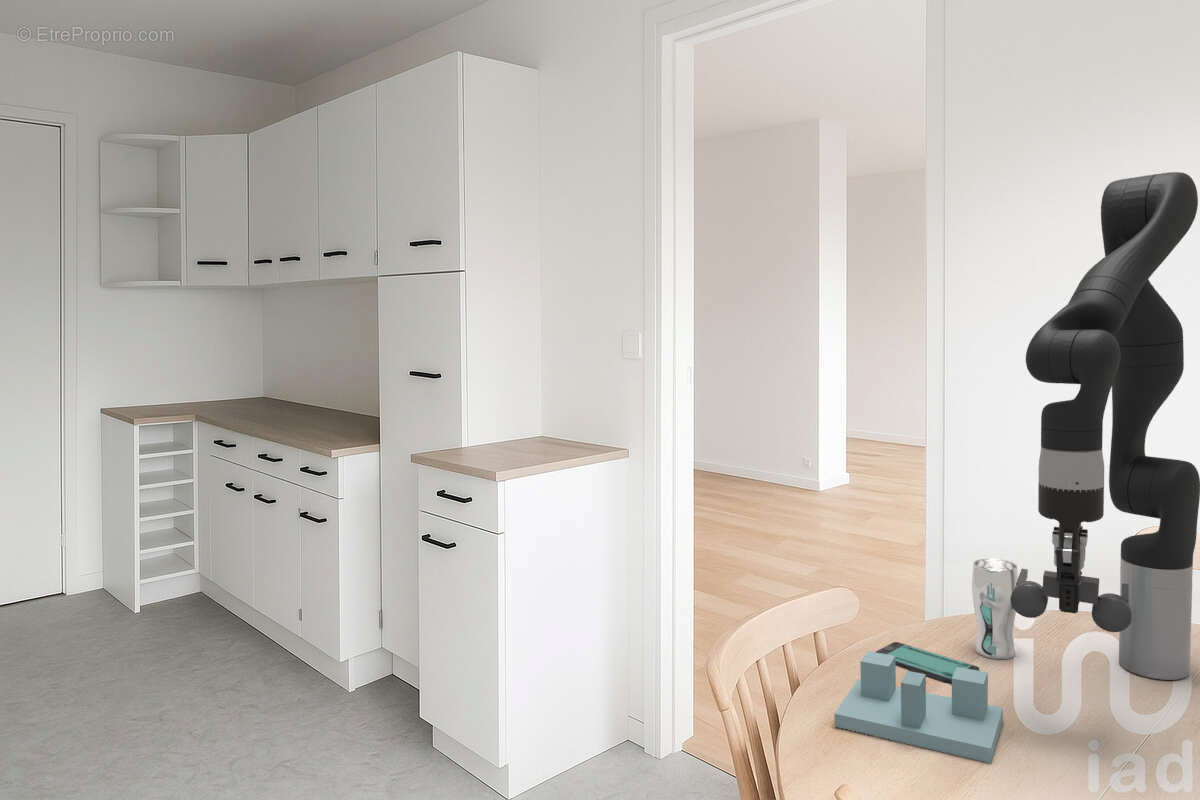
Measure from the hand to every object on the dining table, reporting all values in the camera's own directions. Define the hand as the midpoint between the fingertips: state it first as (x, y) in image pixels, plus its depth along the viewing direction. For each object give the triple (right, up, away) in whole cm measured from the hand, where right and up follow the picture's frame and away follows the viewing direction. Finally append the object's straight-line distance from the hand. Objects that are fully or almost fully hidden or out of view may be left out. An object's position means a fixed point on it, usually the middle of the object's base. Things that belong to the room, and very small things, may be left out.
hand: (1069, 607), depth 110 cm
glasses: (+2, -1, +3) cm, 4 cm away
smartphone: (-10, -16, +23) cm, 30 cm away
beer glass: (+3, -14, +27) cm, 31 cm away
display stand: (-18, -18, +5) cm, 26 cm away
